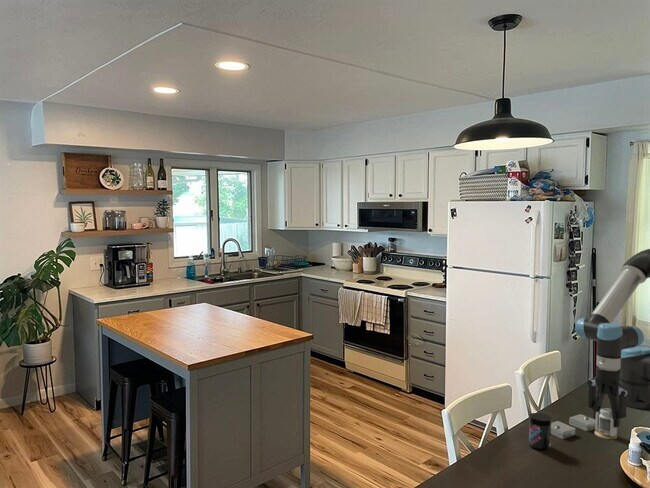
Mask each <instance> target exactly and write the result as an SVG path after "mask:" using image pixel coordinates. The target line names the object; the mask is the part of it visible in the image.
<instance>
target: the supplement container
mask: <svg viewBox="0 0 650 488" xmlns="http://www.w3.org/2000/svg"><path fill="white" fill-rule="evenodd" d="M551 423H552V417H551V415H548V414H545V413H541V412H532V413H530V414H529V425H528V426H529V433H528V436H529V437H528V444H529V446H530V447H531V449H534V450H537V451H538V452H539V451H541V452H546V451H547V452H548V451H549V450H550V449H551V445H552V444H551V443H552V442H551V439H552V437H551V436H552V434H551Z"/></svg>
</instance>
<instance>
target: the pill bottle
mask: <svg viewBox="0 0 650 488" xmlns="http://www.w3.org/2000/svg"><path fill="white" fill-rule="evenodd" d="M599 411H600V414H599V432H600V433H601V434H603V435H608V436H610V422H611V417H613V414H612V409H611V408H607V407H601V409H600V410H599Z"/></svg>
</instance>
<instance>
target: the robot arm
mask: <svg viewBox="0 0 650 488" xmlns="http://www.w3.org/2000/svg"><path fill="white" fill-rule="evenodd" d="M619 272H620V273H619V274H618V277H617V278H616V279H615V280H614V282H613V283H612V284H611V286H610V288H609V289H608V290H607V292H606V293H605V294H604V296H603V297H602V298H601V300H600V302H599V303H597V304H598V305H597V306H596V307H595V308H594V309H593V311H592V313H591V314H590V315H589V316H588V318H587V317H585V318H583V317H581V318H579V319H578V320H577V321H576V323H575V328H574V330H575V333H576V335H577V336H579V338H583V339H586V340H591V341H595V342H596V364H595V365H596V367H595V377H596V378H595V379H590V380H588V381H587V384H588V404H587V405H588V408H590V409H592V411H593V419H595V429H594V431H595V430H599V414H600V409H601V408H602V404H603V401H604V398H605V395H607V397H608V399H609V404H610V407H611V408H610V409H611V410H612V414H613V417H611V422H610V436H615V435H617V436H618V428H620V423H621V422H620V420H621V419H625V418H626V417H627V407H628V408H629V407H630V408H634V409H640V410H642V409H643V410H650V347H647V346H641V345H642V344H643V343H644V339H645V335H644V332H643V331H642V330H641V329H640V328H639V327H638V326H635V325H626V326H624V325H620V324H616V323H613V322H614V320H615V319H616V318H617V317H618V315H619V313H620V312H621V310H622V309H623V308H624V306H625V305H626V303H627V302H628V301H629V299H630V298H631V297H632V295H633V294H634V292H635V291H636V289H637V288H638V286H639V285H640V284H643V283H645V282H646V281H647V279H650V248H647V249H644V250H641V251H639V252H637V253H635V254H634V255H632V256H631V257H630V258H629V259H627V260H626V262H624V263H623V264H622V266H621V267H620V269H619Z"/></svg>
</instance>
